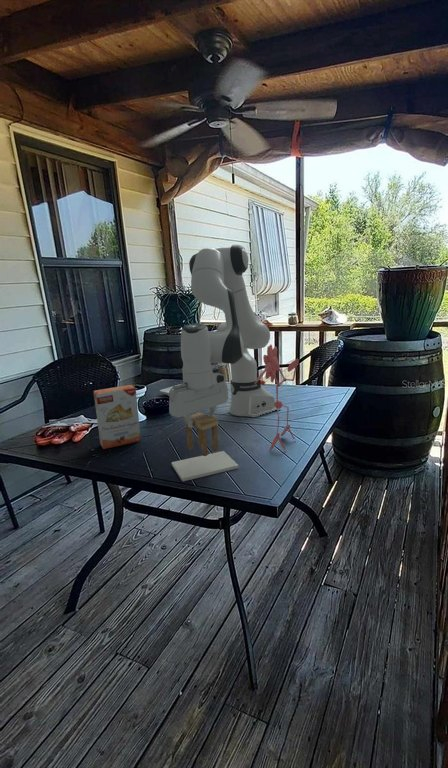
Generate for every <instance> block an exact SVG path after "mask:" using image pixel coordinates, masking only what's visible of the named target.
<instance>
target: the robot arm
mask: <svg viewBox="0 0 448 768" xmlns="http://www.w3.org/2000/svg"><path fill="white" fill-rule="evenodd" d="M188 268H189V272H190V274H191V278H190V280H191V281H190V289H191V292H192V295H193V297H194V298H195V299H196V300H197V301H199V302H201V303H202V304H204V305H206V306H210V307H214V308H217V309H219V310H221V311H222V312H223V313H224V319H225V322H222V323H220V324H219V325H218V326H217V328H216V330H215V331H209V328H208V326H207V325H206V324H204V323H199V322H198V323H191V324H186V325H185V326H184V327H182V328H181V333H180V355H181V356H180V357H181V360H182V382H183V383H180V385H179V384H176V385H173V388H171V390H170V391H169V396H168V397H169V400H168V401H169V403H168V404H169V405H168V406H169V407H168V410H169V414H170V416H171V417H173V418H176V419H180V418H182V417H183V419H184V418H185V419H186V421H187V424H188V427H190V428H195V427H194V426H195V421H192V420H191V419H190V417H191V415H192V414H195V413H198V412H201V411H205V410H207V409H209V412H208V414H207V415H209V416H212V417H215V416H214V415H216V414H215V413H216V411H217V406H220V405H223V404H226V403H227V402H228V400H229V389H228V384H227V382H226V381H227V375H226V374H224V373H220V372H216V371H213V366H212V364H229V366H230V377H231V379H230V393H231V397H230V399H231V400H230V406H229V411H228V412H229V413H230V414H231V415H233V416H238V417H250V418H257V417H260V415H261V416H263V415H262V414H264V415H266V414H265V413H268V414H270V413H269V412H271V413H273V412H272V411H274V410H276V407H275V405H274V404H275V402H276V401H275V396H274V395H273V394H272V392H270V391H268V390H266V388H264V387H262V386H265V384H266V381H265V380H263V379H260V380H259V381H258V382H257V383H256V384H254V383H255V382H256V380H257V378H258V368H257V361H256V359H255V358H254V357H253V356H252V355H251V354H250V351H249V350H258V349H265V348H266V346H267V345H269V343H270V339H271V332H270V329H269V327H268V326H267V325H266V324H265V323H263V322H262V321H261V320H260V319H259V318H258V316H257V315H256V313H255V312H254V311H253V308H252V307H251V306H252V305H251V303H250V300H249V296H248V292H247V288H246V284H245V280H244V277H243V274H244V273H245V272H246V271H247V270H248V268H249V256H248V253H247V250H246V248H245V247H244V246H243V245H242V244H231V245H224V246H218V247H214V248H213V247H205V248H201V249H200V250H199V251H198V252H197V253H195V254H193V255H192V256H191V258H190V259H189V261H188ZM248 349H249V350H248ZM172 389H174V390H172ZM277 409H278V408H277ZM279 409H280V410H281V408H279Z"/></svg>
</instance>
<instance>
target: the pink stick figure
mask: <svg viewBox="0 0 448 768" xmlns="http://www.w3.org/2000/svg"><path fill="white" fill-rule="evenodd" d="M299 361H300V360H299V358H296V359H295V360H293V361H291V362H290V363H289V365H288V366H287V368H286V370H287V372H288V373H290V372H291V371H293V370H294V371H293V375H292V379H291V378H286V377H285V376H284V374H283V372H282V370H281V368H280V366H281V365H280V362H279V359H278V347H277V346H274V347H273V345H272V344H269V345H268V346H267V351H266V354H264V355H263V362H264V365H265V366H264V369H263V370H262V372H261V373H260V374H259V375H258V376H257V380H256V382H255V383H254V384H256V383H257V382H258V381H259V380H262V379H261V378H263V376H264V375H265V377H264V378H265V380H268V379H270V382H271V383H273V382H274V381H275V382H276V386H275V389H276V390H275V391H276V392H275V393H276V396H275V397H276V401H275V404H274V405H275V407H276V410H277V411H276V413H277V417H278V418H277V426H276V427H277V430H276V435H275V437H274V438H273V440H272V442H271V445H270V447H269V451H271V450H272V449H274V447H276V444H277V442H278V441H279V443H280V445H281V446H282V447H281V448H282V449H283V450H286V451H287V449H286V447H285V445H284V444H283V442H282V440H281V436H282V437H283V436H284V435H285V434H286V433H287V431H288V432H289V434H290V435H291V437H292V439H295V440H296V438H295V437H294V435H293V432H292V430H291V429H290V427H291V423H289V411H290V410H289V409H290V408H289V407H288V406H286V405H284V404H283V402H282V401H281V400H279V399H278V398H279V396H278V395H279V387H280V386H281V385H282V384H283V383H284V382H287V381H289V382H295V378H296V372H297V367H298V364H299ZM277 371H278V372H279V373H280V375H281V377H282V380H281V381H280V382H279V381H278V379H277ZM283 407H284V408H287V411H286V412H287V413H286V426H285V428H284V429H283V431H282V432H281V433H279V427H280V425H279V424H280V414H279V410H278V409H279V408H280V409H281V408H283ZM277 408H278V409H277ZM251 444H252V443H250V446H251Z"/></svg>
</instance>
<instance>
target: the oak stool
mask: <svg viewBox="0 0 448 768" xmlns="http://www.w3.org/2000/svg"><path fill="white" fill-rule="evenodd" d="M190 419H191V420H192V421H195V426H194V427H192V428H196V430H197V443H198V445H199V446H200V447H201V456H207V455H208V454H209V453H208V440H207V438H208V437H207V429H211V430H210V431H211V442H212V443H211V444H212V452H213V453H216V452H219V442H218V441H219V440H218V439H219V437H218V425H219V419H218V417H215V416H214V417H212V416H209V415H208V414H205V413H203V412H201V411H198V412H195V413H192V414H191V417H190ZM183 422H184V424H185V429H186V431H185V432H186V441H187V442H186V443H187V449H188V450H193V449H194V443H193V429H192V428H190V427H188V424H187V421H186V419H185V418H184V417H183Z"/></svg>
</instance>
